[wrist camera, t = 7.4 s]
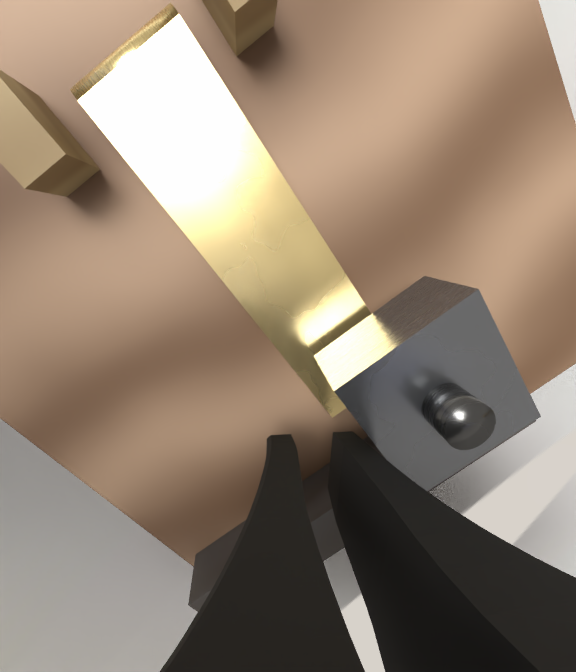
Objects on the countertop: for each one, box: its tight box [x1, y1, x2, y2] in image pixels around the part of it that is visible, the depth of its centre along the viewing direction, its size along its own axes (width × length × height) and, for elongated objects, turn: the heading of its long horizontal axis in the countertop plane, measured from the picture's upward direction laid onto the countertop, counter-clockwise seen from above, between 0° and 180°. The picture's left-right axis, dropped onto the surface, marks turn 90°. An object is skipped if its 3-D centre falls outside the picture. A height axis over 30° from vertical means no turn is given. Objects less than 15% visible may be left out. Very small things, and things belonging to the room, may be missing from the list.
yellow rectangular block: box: [70, 3, 371, 418], centre depth 9 cm, size 11×3×1 cm, turn 36°
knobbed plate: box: [314, 276, 541, 491], centre depth 9 cm, size 4×4×3 cm
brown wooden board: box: [0, 0, 576, 612], centre depth 10 cm, size 19×20×3 cm
